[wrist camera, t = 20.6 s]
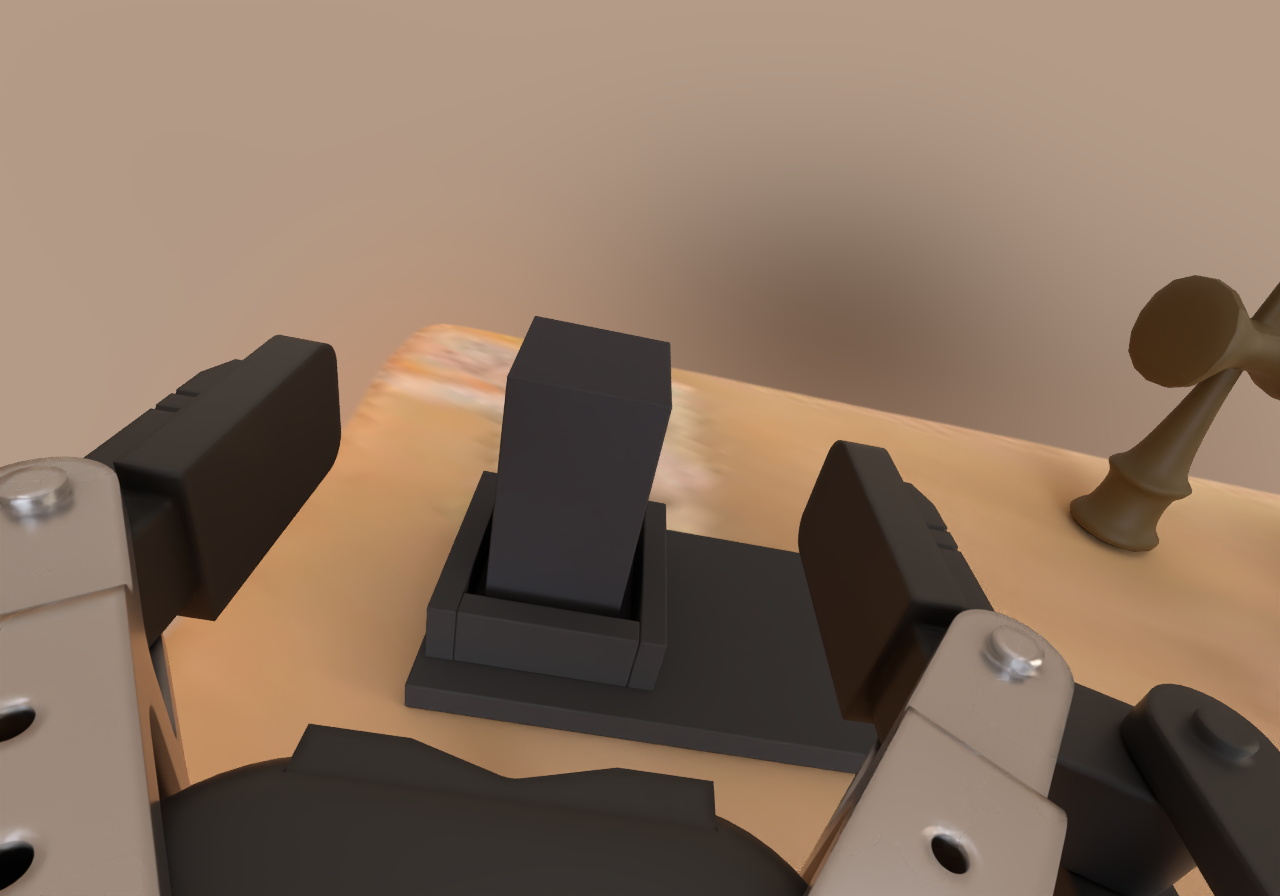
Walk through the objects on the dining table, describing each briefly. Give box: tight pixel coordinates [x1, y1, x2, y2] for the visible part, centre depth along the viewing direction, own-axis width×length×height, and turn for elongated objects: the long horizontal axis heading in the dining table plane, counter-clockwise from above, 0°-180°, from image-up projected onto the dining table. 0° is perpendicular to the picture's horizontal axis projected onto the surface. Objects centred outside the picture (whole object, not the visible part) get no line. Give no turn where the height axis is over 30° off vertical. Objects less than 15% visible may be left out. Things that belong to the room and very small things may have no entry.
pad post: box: [485, 316, 672, 618], centre depth 25 cm, size 5×5×11 cm
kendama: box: [1070, 275, 1280, 551], centre depth 38 cm, size 6×10×20 cm, turn 94°
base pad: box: [405, 471, 878, 774], centre depth 28 cm, size 18×11×4 cm, turn 88°
